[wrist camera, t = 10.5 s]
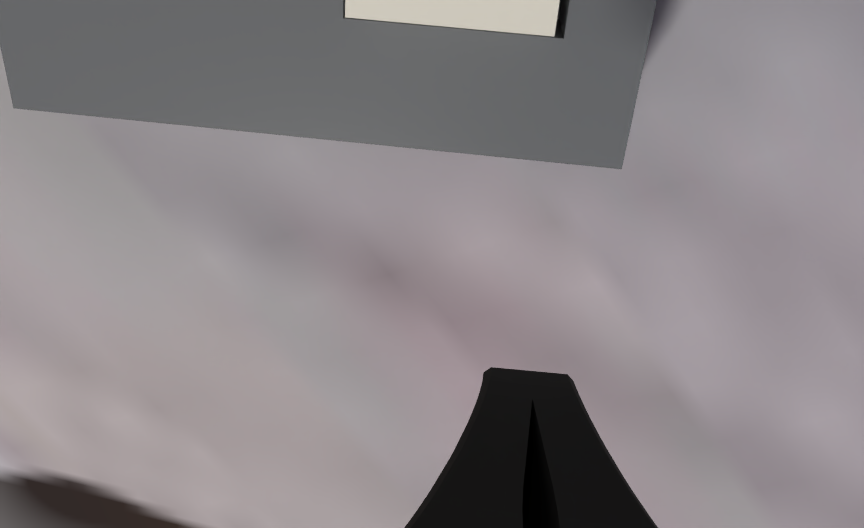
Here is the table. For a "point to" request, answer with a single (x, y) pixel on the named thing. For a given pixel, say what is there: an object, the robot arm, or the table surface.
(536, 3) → the ivory button
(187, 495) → the table surface
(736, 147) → the table surface
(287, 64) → the control panel
